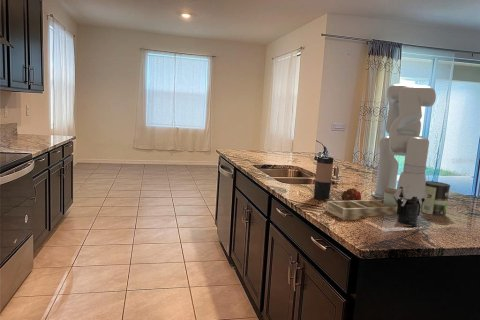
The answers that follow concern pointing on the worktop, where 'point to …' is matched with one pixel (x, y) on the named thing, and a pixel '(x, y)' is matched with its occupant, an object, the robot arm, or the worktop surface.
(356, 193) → the dragon fruit
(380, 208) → the rack
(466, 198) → the worktop surface
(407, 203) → the supplement bottle
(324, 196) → the travel mug
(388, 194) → the canister
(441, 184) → the coffee can
